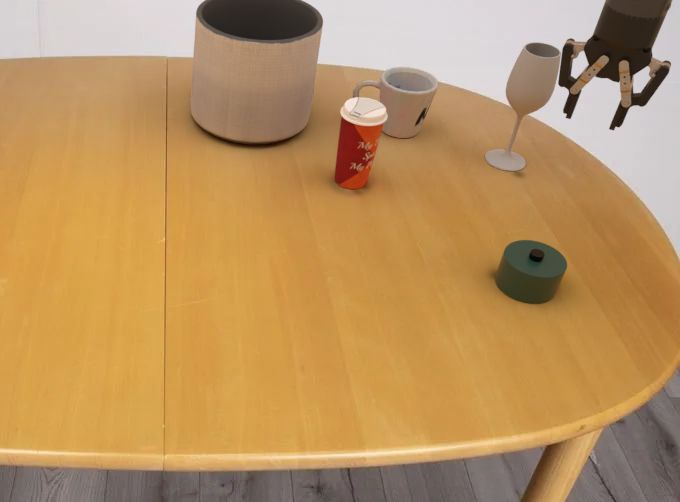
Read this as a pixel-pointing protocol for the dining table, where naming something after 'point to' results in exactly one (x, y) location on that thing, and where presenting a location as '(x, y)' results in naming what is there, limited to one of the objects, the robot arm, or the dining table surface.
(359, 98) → the paper cup
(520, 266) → the tea tin
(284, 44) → the planter
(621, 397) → the dining table surface
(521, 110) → the wineglass
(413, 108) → the mug
